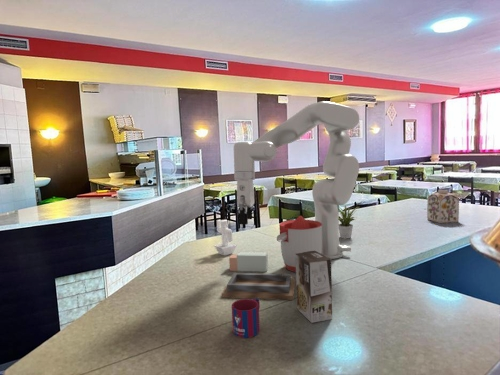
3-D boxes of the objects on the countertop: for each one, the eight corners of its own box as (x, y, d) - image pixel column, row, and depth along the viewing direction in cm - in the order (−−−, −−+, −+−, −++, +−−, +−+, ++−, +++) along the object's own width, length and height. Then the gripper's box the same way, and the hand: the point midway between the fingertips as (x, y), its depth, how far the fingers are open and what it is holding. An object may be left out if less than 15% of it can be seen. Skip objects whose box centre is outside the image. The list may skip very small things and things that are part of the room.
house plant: (351, 232, 177) (350, 201, 175) (368, 238, 164) (367, 205, 162) (327, 235, 173) (326, 203, 171) (342, 241, 160) (342, 207, 158)
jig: (295, 281, 114) (295, 272, 113) (293, 299, 100) (293, 289, 100) (232, 279, 118) (231, 270, 117) (221, 297, 104) (221, 287, 104)
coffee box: (333, 319, 88) (332, 259, 86) (311, 323, 86) (309, 262, 84) (316, 304, 96) (315, 249, 95) (296, 308, 95) (294, 252, 93)
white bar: (267, 267, 128) (267, 252, 128) (266, 271, 125) (266, 255, 124) (232, 267, 131) (231, 252, 130) (229, 270, 127) (229, 255, 126)
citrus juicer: (269, 266, 130) (267, 215, 128) (307, 258, 137) (306, 210, 135) (289, 279, 116) (288, 222, 114) (331, 270, 123) (330, 216, 120)
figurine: (224, 257, 143) (223, 222, 141) (213, 253, 150) (211, 220, 149) (238, 253, 147) (236, 220, 146) (226, 249, 155) (224, 217, 153)
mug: (227, 333, 83) (226, 306, 83) (251, 316, 91) (250, 292, 90) (249, 341, 79) (247, 313, 79) (271, 322, 87) (271, 297, 87)
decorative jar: (426, 219, 199) (427, 189, 198) (444, 218, 201) (445, 188, 199) (440, 223, 188) (440, 191, 186) (459, 222, 189) (460, 190, 187)
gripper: (250, 177, 115) (251, 226, 117) (258, 174, 132) (259, 217, 133) (229, 177, 116) (230, 226, 118) (239, 174, 133) (240, 217, 135)
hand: (245, 221), depth 126 cm, fingers open, 9 cm apart
